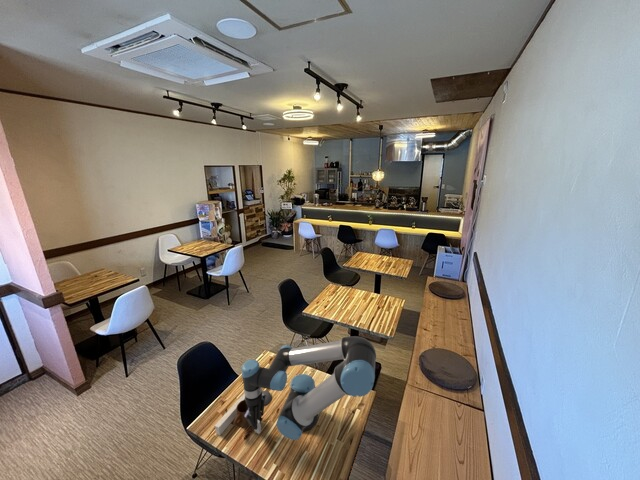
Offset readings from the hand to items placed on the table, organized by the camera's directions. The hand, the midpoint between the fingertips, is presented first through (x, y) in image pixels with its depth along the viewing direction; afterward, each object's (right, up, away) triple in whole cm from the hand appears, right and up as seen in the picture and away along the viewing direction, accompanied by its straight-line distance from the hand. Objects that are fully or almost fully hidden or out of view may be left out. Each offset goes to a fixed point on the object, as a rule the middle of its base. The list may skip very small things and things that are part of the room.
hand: (258, 431), depth 122 cm
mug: (-8, 0, +4) cm, 9 cm away
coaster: (-2, +4, +18) cm, 19 cm away
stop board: (-14, +2, +9) cm, 17 cm away
